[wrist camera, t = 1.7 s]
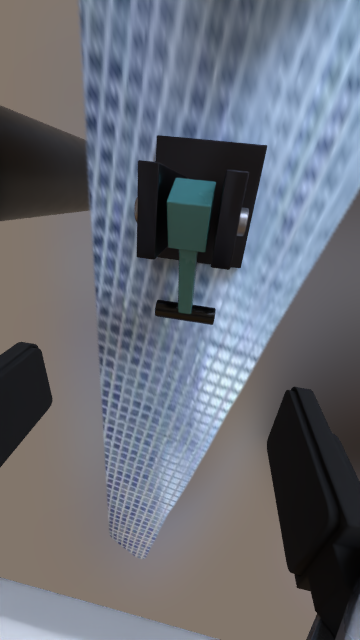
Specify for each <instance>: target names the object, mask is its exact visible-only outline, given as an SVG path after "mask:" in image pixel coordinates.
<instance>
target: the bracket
mask: <svg viewBox="0 0 360 640" xmlns="http://www.w3.org/2000/svg"><path fill="white" fill-rule="evenodd" d="M266 150H267V145H257V144H246V143H235V142H224V141H213V140H202V139H191V138H181V137H170V136H159V135H158V136H157V148H156V162H150V161H140V160H139V161H138V197H137V199H136V202H135V219H136V222H137V257H139V258H146V259H155V258H156V257H161V258H168V259H176V260H179V249H175V248H169V247H168V235H167V199H168V197H169V194H170V191H171V189H172V186H173V183H174V181H175V178H184V179H194V180H203V181H213V182H216V188H215V195H214V202H213V210H212V217H211V224H210V231H209V236H208V242H207V248H206V252H198V256H197V262H198V263H205V264H211V267H213V268H220V269H227V270H229V269H230V267H235V268H241V264H242V259H243V254H244V250H245V245H246V241H247V236H248V232H249V227H250V222H251V218H252V213H253V209H254V204H255V200H256V195H257V191H258V186H259V181H260V177H261V172H262V168H263V163H264V159H265V154H266Z"/></svg>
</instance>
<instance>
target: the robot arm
mask: <svg viewBox="0 0 360 640" xmlns="http://www.w3.org/2000/svg"><path fill="white" fill-rule="evenodd" d="M51 403H52V395H51V391H50V386H49V382H48V377H47V373H46V369H45V364H44V360H43V356H42V352H41V350H40V349H39V348H38V346H37V345H36V344H31V343H25V342H19V343H17V344H15V345H14V346H13V347H11V348H10V349H8V350H7V351H6V352H4V353H3V354H1V355H0V467H1V466H2V465H3V463H4V462H5V461H6V460H7V458H8V457H9V456H10V455H11V454H12V452H13V451H14V450H15V449H16V448H17V446H18V445H19V444H20V443H21V442H22V440H23V439H24V438H25V436H26V435H27V434H28V433H29V432H30V431H31V429H32V428H33V427H34V426H35V424H36V423H37V422H38V421H39V420H40V419H41V417H42V416H43V415H44V414H45V412H46V411H47V410H48V409H49V407H50V406H51ZM267 452H268V457H269V463H270V469H271V475H272V481H273V487H274V492H275V498H276V504H277V510H278V516H279V521H280V527H281V533H282V539H283V544H284V551H285V557H286V562H287V566H288V569H289V571H290V572H291V573H294V574H295V579H296V585H297V588H299V589H304V590H308V591H311V594H312V599H313V603H314V607H315V611H316V612H317V615H316V618H315V620H314V622H313V625H312V627H311V630H310V632H309V634H308V637H307V639H306V640H360V481H359V479H358V478H357V475H356V473H355V471H354V469H353V467H352V465H351V463H350V461H349V458H348V456H347V454H346V452H345V450H344V448H343V446H342V444H341V442H340V440H339V438H338V437H337V436H336V435H335V434H332V432H331V430H330V428H329V426H328V423H327V421H326V419H325V417H324V415H323V412H322V411H321V408H320V406H319V404H318V401H317V399H316V397H315V395H314V393H313V391H312V390H310V389H304V388H298V387H293V388H292V389H291V390H287V391H286V392H285V394H284V397H283V400H282V403H281V405H280V408H279V410H278V413H277V416H276V418H275V421H274V424H273V427H272V429H271V432H270V434H269V437H268V441H267ZM0 640H220V639H216V638H213V637H209V636H205V635H202V634H199V633H195V632H192V631H188V630H185V629H181V628H178V627H174V626H171V625H167V624H164V623H160V622H157V621H153V620H150V619H146V618H143V617H139V616H136V615H132V614H128V613H125V612H122V611H118V610H115V609H111V608H108V607H104V606H101V605H97V604H94V603H90V602H87V601H83V600H79V599H76V598H72V597H69V596H65V595H61V594H58V593H54V592H51V591H47V590H44V589H40V588H37V587H33V586H29V585H26V584H22V583H18V582H15V581H11V580H8V579H4V578H1V577H0Z"/></svg>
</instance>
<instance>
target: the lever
mask: <svg viewBox="0 0 360 640" xmlns="http://www.w3.org/2000/svg"><path fill="white" fill-rule="evenodd" d="M215 188H216V182H213V181H203V180H194V179H184V178H175V181H174V183H173V186H172V189H171V191H170V194H169V197H168V199H167V235H168V247H169V248H175V249H179V291H178V303H177V302H171V301H164V300H157V303H156V307H155V316H158V317H165V318H171V319H178V320H184V321H190V322H197V323H203V324H210V325H213V323H214V318H215V308H210V307H204V306H197V305H193V297H194V287H195V276H196V266H197V256H198V252H206V248H207V242H208V236H209V231H210V224H211V217H212V210H213V202H214V195H215Z"/></svg>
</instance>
